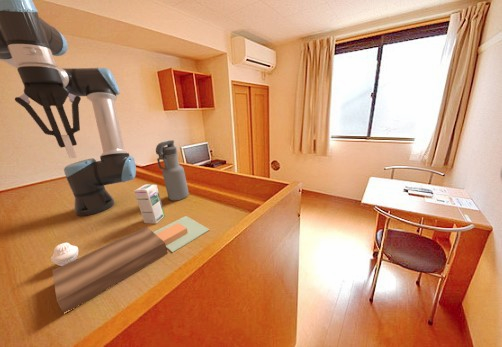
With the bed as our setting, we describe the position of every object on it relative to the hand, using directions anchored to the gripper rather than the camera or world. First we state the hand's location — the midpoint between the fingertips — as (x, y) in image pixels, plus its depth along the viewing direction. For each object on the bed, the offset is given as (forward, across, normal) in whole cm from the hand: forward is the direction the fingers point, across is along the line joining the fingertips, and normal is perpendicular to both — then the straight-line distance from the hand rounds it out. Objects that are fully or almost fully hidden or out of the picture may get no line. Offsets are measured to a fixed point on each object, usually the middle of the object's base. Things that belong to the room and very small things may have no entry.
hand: (72, 157), depth 58 cm
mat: (+30, +19, -16) cm, 39 cm away
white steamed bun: (+31, -10, -2) cm, 32 cm away
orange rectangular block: (+30, +16, -16) cm, 38 cm away
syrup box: (+31, +17, +1) cm, 35 cm away
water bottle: (+31, +34, +13) cm, 48 cm away
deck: (+30, -1, -16) cm, 34 cm away
